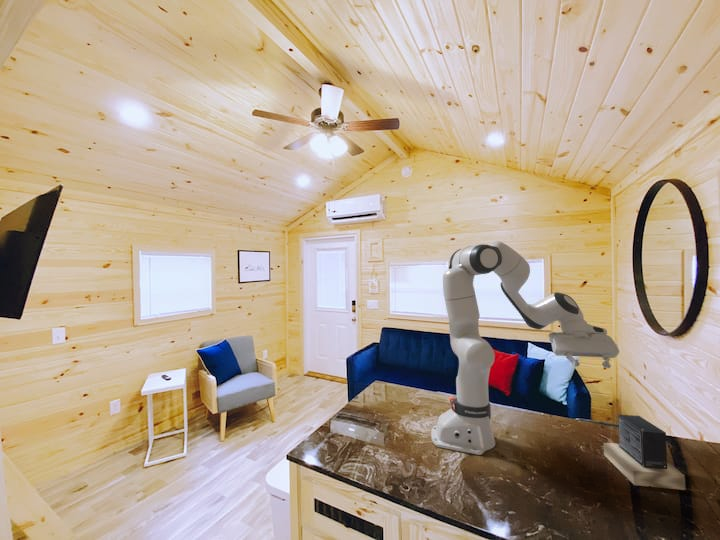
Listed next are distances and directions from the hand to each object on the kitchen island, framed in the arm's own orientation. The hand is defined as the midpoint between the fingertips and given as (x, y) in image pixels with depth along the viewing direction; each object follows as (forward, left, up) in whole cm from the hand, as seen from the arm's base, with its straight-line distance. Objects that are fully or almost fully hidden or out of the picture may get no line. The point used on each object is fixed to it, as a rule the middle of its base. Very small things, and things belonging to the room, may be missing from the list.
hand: (591, 366), depth 103 cm
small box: (+6, -13, -23) cm, 27 cm away
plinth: (+5, -13, -27) cm, 31 cm away
